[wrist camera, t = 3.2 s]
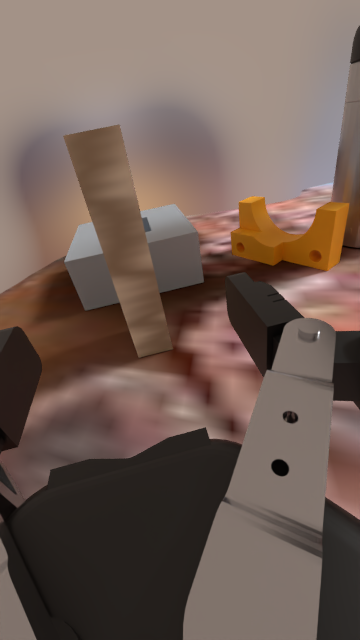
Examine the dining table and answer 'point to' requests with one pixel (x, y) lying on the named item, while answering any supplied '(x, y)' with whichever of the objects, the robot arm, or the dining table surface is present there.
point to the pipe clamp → (290, 236)
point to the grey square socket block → (165, 249)
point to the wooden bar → (120, 233)
